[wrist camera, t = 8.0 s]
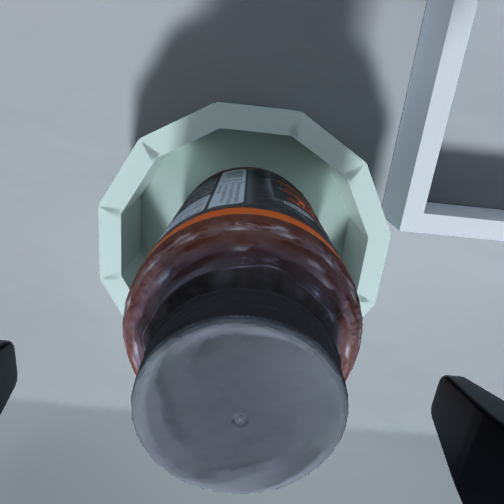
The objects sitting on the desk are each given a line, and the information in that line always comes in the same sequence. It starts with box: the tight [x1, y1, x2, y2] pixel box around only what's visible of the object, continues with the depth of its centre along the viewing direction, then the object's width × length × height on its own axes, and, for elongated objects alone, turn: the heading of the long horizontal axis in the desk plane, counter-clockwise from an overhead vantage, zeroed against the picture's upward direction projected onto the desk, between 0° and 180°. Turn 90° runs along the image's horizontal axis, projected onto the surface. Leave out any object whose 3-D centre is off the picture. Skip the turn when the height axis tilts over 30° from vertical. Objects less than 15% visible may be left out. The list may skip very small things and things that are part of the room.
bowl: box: [98, 102, 391, 317], centre depth 17 cm, size 11×11×4 cm
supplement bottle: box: [123, 167, 363, 494], centre depth 13 cm, size 6×6×11 cm
